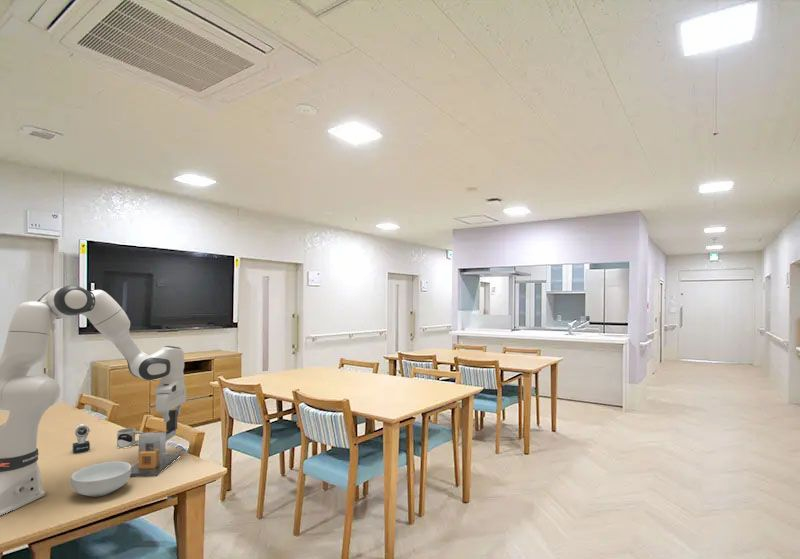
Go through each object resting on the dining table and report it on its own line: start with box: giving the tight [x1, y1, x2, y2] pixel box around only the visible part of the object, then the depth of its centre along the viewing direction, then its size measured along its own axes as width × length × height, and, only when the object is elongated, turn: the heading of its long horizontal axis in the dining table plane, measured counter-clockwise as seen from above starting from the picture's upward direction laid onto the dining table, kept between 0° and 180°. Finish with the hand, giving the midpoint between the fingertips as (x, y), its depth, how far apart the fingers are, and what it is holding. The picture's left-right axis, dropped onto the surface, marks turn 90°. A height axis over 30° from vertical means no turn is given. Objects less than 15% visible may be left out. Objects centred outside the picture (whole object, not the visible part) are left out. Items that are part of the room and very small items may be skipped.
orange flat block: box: [138, 451, 157, 468], centre depth 170 cm, size 2×6×6 cm, turn 92°
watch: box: [72, 423, 91, 454], centre depth 191 cm, size 6×8×11 cm
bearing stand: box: [129, 431, 182, 478], centre depth 174 cm, size 20×12×12 cm, turn 2°
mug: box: [116, 427, 144, 449], centre depth 198 cm, size 10×7×7 cm, turn 108°
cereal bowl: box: [70, 460, 132, 498], centre depth 152 cm, size 17×17×7 cm
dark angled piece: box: [150, 409, 178, 448], centre depth 182 cm, size 16×4×10 cm, turn 2°
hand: (171, 418), depth 189 cm, fingers open, 8 cm apart
